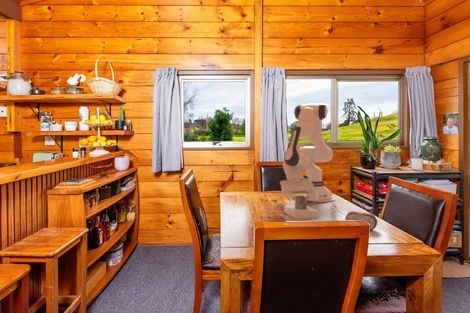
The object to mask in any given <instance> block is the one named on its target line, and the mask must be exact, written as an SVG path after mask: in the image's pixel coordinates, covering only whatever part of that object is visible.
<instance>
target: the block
mask: <svg viewBox="0 0 470 313" xmlns="http://www.w3.org/2000/svg"><path fill="white" fill-rule="evenodd" d="M294 196H295V200H294V205H295V208H297V209H307V206H308V205H307V203H308V201H307V197H305V195H294Z"/></svg>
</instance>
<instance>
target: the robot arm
mask: <svg viewBox="0 0 470 313" xmlns="http://www.w3.org/2000/svg"><path fill="white" fill-rule="evenodd" d="M293 111H294V117H295V119H296V120H297V124H296V126H295V127H294V128H293V130H292V131H291V134H290V138H289V141H288V145H287V148H286V150H285V153H284V155H283V161H282V167H283V171H284V174H285V176H286V179H282V180H280V181H279V185H280V188H281V193H282V194H283V195H288V196H289V197H290V198H291V200H292V201H293V200H294V201H295V196H296V195H297V194H299V195H300V194H304V196H305V197H307V202H315V203H327V202H335V201H336V198H334V197H333V194H332V191H331V190H329V189H328V188H327V187H326V186H325V185H327V184H328V183H327V181H324V180H323V171H322V169H321V168H320V167H319V166H317V165H316V164H315V163H327V162H330V161H332V160H333V158H334V157H333V156H334V152H333V149H332V148H330V147H329V146H328V145H327V144H326V142H325V141H324V139H323V138H324V137H323V126H322V125H323V124H322V121H323V120H325V119H326V118H327V117H328V116H327V115H328V111H329V110H328V107H327V105H326V104H325V103H308V104H307V103H306V104H299V105H296V107H295V108H294V110H293ZM301 138H306V140H307V141H308V142H309V143H312V144H313V146H301V147H299V144H300V140H301ZM298 147H299V148H298ZM303 172H305V175H304V174H302V173H303ZM295 194H296V195H295Z"/></svg>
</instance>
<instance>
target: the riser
mask: <svg viewBox="0 0 470 313" xmlns="http://www.w3.org/2000/svg"><path fill="white" fill-rule="evenodd" d="M283 208H284V212H283V213H285V214H286V215H288V216H290V217H291V218H293V219H294V218H295V219H294V220H303V219H304V220H305V218H306V219H316V218H317V219H318V218H319V210H317V209H315V208H313V207H311V206H309V205H307V209H297V208H295V204H293V205H292V204H291V205H284V207H283Z"/></svg>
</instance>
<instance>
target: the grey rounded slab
mask: <svg viewBox="0 0 470 313" xmlns="http://www.w3.org/2000/svg"><path fill="white" fill-rule="evenodd" d="M345 220H363V221H366V222H367V223H369V224H370V231H373V230H374V229H375V228H377V225H378V219H377V218H376V216H375V215H373V214H372V213H367V212H360V211H350V212H348V213H347V214H346V216H345Z"/></svg>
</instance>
